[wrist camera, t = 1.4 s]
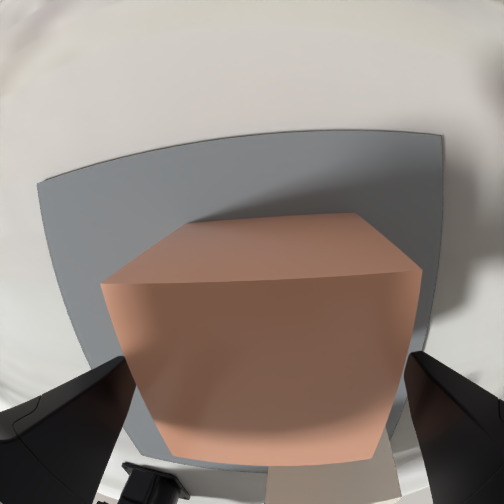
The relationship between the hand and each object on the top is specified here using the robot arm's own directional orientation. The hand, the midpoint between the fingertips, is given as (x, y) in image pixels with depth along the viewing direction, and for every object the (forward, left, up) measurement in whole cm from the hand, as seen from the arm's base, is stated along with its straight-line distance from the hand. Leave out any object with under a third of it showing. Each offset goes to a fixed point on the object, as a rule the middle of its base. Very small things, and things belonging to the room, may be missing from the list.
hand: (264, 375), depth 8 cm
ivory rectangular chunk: (-13, -3, -5) cm, 14 cm away
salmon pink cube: (0, 0, -5) cm, 5 cm away
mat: (-5, +2, -6) cm, 8 cm away
